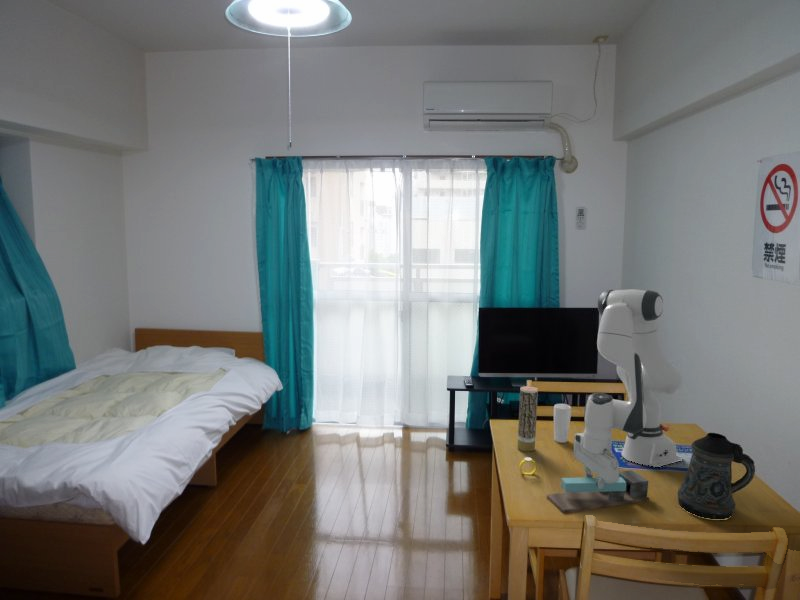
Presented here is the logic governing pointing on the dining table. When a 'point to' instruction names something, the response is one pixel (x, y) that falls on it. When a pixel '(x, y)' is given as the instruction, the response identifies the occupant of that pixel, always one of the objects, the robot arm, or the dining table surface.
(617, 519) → the dining table surface
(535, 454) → the dining table surface
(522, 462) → the watch
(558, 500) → the end-cap base
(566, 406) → the drinking glass
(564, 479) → the slat
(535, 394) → the brown bark cylinder
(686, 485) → the beer stein
